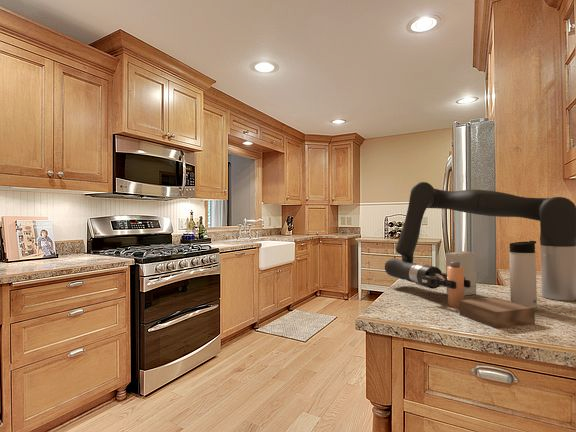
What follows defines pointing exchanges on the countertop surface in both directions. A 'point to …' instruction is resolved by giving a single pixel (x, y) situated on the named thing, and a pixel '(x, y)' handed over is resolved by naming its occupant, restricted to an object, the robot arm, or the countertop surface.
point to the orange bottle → (457, 275)
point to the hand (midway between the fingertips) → (462, 284)
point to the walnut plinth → (497, 312)
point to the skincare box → (465, 268)
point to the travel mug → (523, 273)
